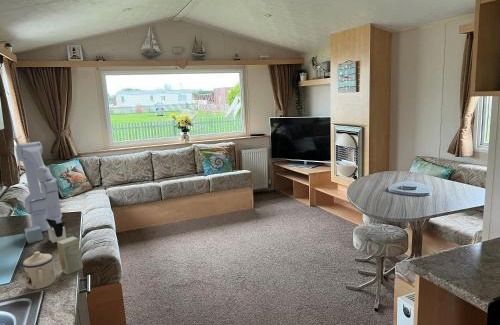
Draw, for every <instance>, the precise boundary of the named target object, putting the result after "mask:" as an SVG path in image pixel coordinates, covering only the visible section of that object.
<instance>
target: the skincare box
mask: <svg viewBox="0 0 500 325" xmlns="http://www.w3.org/2000/svg"><path fill="white" fill-rule="evenodd" d="M56 246H57V249H58V256H59V262H60V267H61V272H62V273H63V274H65V275H71V274H73V273H75V272H77V271H78V272H79V270H82V269H83V268H84V266H83V259H82V254H81V248H80V242H79V238H78V237H75V236H74V235H73V236H70V237H66V239H64V240H61V241H58V242H56Z"/></svg>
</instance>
